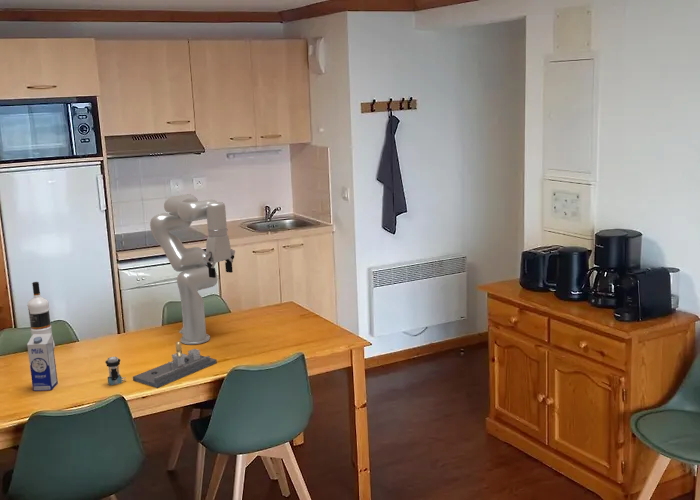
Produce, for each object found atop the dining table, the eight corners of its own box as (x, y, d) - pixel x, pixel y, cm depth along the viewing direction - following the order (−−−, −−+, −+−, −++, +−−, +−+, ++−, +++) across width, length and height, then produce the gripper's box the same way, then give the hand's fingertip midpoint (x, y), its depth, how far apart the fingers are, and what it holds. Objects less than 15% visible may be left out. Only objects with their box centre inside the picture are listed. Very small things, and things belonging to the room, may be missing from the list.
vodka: (55, 351, 320) (46, 283, 313) (31, 354, 317) (22, 285, 310) (55, 344, 328) (47, 278, 322) (32, 347, 325) (24, 280, 319)
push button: (124, 379, 286) (122, 354, 283) (127, 383, 281) (125, 358, 279) (106, 382, 283) (103, 357, 280) (109, 387, 278) (106, 361, 276)
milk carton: (58, 383, 284) (52, 332, 279) (52, 390, 277) (45, 338, 273) (39, 384, 283) (33, 333, 279) (32, 391, 277) (26, 339, 273)
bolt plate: (133, 380, 284) (131, 364, 283) (192, 356, 307) (191, 341, 306) (157, 388, 276) (155, 371, 274) (216, 363, 299) (215, 347, 298)
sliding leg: (166, 366, 292) (163, 340, 290) (172, 364, 295) (170, 338, 292) (181, 371, 287) (179, 344, 285) (188, 368, 289) (185, 342, 287)
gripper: (225, 228, 308) (228, 269, 311) (195, 236, 294) (198, 278, 297) (239, 230, 304) (242, 271, 307) (209, 237, 290) (212, 280, 293)
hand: (221, 274), depth 302 cm, fingers open, 9 cm apart
